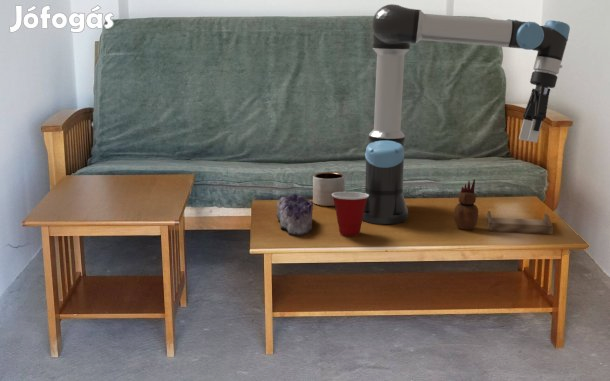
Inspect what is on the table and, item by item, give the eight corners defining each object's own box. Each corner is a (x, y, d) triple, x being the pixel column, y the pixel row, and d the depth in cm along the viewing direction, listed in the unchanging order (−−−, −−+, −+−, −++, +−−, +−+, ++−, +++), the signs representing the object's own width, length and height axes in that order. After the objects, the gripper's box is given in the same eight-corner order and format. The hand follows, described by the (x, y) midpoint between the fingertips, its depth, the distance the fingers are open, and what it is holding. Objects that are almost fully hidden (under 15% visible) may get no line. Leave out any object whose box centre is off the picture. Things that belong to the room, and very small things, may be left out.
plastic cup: (371, 229, 206) (371, 189, 203) (365, 240, 196) (365, 198, 193) (335, 226, 209) (335, 188, 206) (327, 237, 199) (327, 196, 196)
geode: (323, 235, 201) (319, 202, 198) (284, 242, 200) (279, 210, 197) (312, 214, 221) (308, 184, 218) (276, 220, 220) (272, 190, 217)
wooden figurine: (479, 227, 207) (482, 178, 203) (473, 232, 202) (475, 182, 199) (458, 224, 210) (460, 175, 207) (451, 229, 206) (453, 179, 202)
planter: (332, 208, 229) (332, 180, 227) (306, 203, 235) (306, 176, 233) (351, 202, 237) (351, 174, 235) (325, 197, 244) (325, 170, 241)
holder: (489, 231, 203) (489, 222, 203) (487, 218, 216) (487, 211, 215) (552, 234, 200) (552, 226, 199) (546, 221, 212) (547, 213, 212)
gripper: (568, 73, 200) (549, 145, 203) (547, 77, 224) (530, 142, 227) (542, 67, 200) (523, 139, 203) (524, 72, 225) (508, 137, 228)
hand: (527, 141), depth 215 cm, fingers open, 13 cm apart
